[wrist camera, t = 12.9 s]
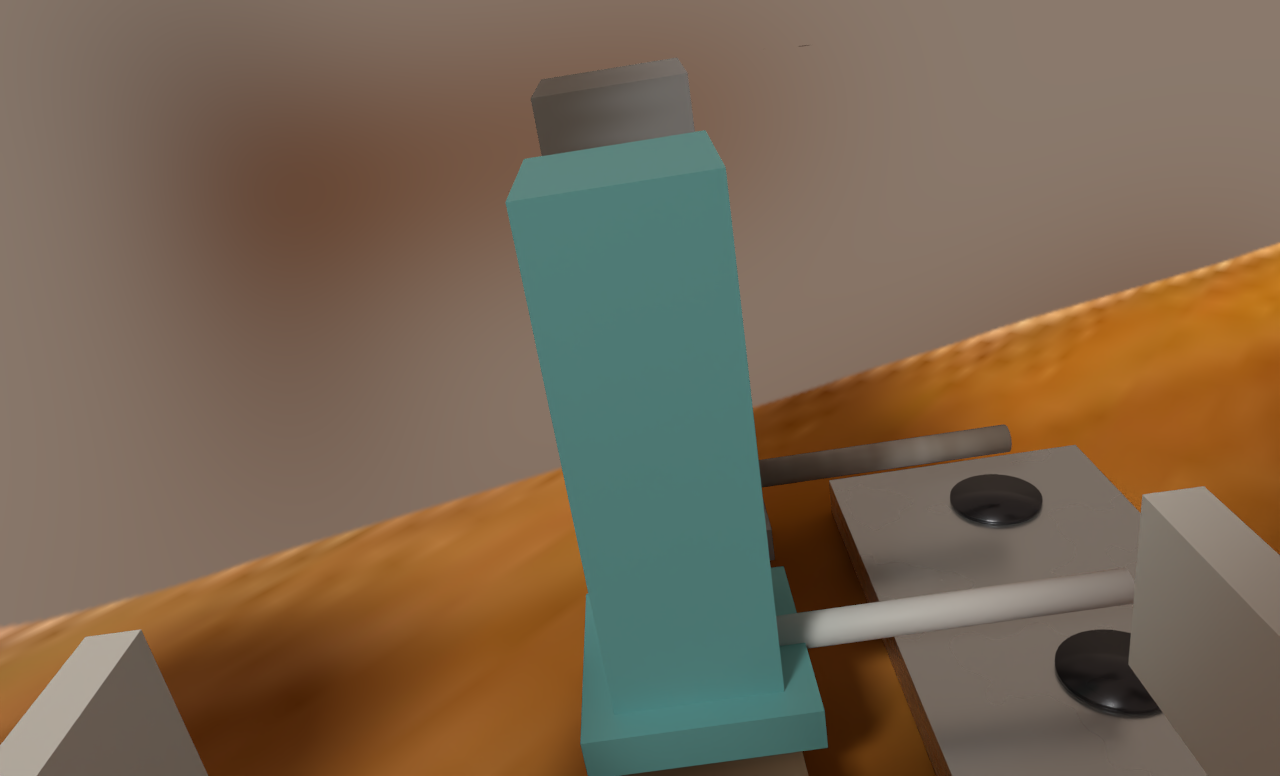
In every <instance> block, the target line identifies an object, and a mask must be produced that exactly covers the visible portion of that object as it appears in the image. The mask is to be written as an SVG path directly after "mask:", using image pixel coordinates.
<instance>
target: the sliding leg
mask: <svg viewBox="0 0 1280 776" xmlns="http://www.w3.org/2000/svg"><path fill="white" fill-rule="evenodd" d="M506 206H507V211H508V216H509V220H510V225H511V230H512V234H513V240H514V244H515V249H516V253H517V258H518V263H519V268H520V272H521V277H522V282H523V287H524V291H525V296H526V301H527V305H528V310H529V315H530V320H531V324H532V329H533V334H534V338H535V343H536V348H537V353H538V357H539V362H540V367H541V372H542V376H543V381H544V386H545V390H546V395H547V400H548V404H549V409H550V414H551V418H552V423H553V428H554V433H555V438H556V442H557V447H558V452H559V456H560V461H561V466H562V471H563V475H564V480H565V485H566V489H567V494H568V499H569V503H570V508H571V513H572V518H573V522H574V527H575V532H576V536H577V541H578V546H579V551H580V555H581V560H582V565H583V569H584V574H585V579H586V584H587V588H588V593H589V594H586V613H585V639H584V665H583V691H582V717H581V743H580V744H581V748H582V753H583V757H584V761H585V765H586V770H587V774H588V776H621V775H628V774H636V773H643V772H651V771H658V770H666V769H673V768H681V767H688V766H695V765H703V764H710V763H718V762H725V761H733V760H740V759H748V758H755V757H763V756H770V755H778V754H785V753H793V752H800V751H807V750H815V749H822V748H828V742H827V731H826V720H825V710H824V707H823V703H822V700H821V696H820V693H819V689H818V686H817V682H816V679H815V675H814V672H813V668H812V664H811V661H810V657H809V654H808V650H807V649H809V648H816V647H824V646H831V645H838V644H845V643H853V642H860V641H867V640H874V639H882V638H889V637H896V636H903V635H911V634H918V633H925V632H932V631H940V630H947V629H954V628H961V627H969V626H976V625H983V624H990V623H998V622H1005V621H1012V620H1019V619H1027V618H1034V617H1041V616H1048V615H1056V614H1063V613H1070V612H1077V611H1085V610H1092V609H1099V608H1106V607H1114V606H1121V605H1128V604H1133V602H1134V590H1135V582H1134V580H1133V577H1132V575H1131V574H1130V572H1129V571H1128V570H1127V569H1126V568H1117V569H1110V570H1103V571H1095V572H1088V573H1081V574H1074V575H1067V576H1060V577H1052V578H1045V579H1038V580H1031V581H1024V582H1017V583H1009V584H1002V585H995V586H988V587H981V588H973V589H966V590H959V591H952V592H945V593H938V594H930V595H923V596H916V597H909V598H902V599H895V600H887V601H880V602H873V603H866V604H859V605H851V606H844V607H837V608H830V609H823V610H816V611H808V612H801V613H797V612H796V608H795V605H794V601H793V597H792V594H791V590H790V587H789V583H788V580H787V576H786V573H785V569H784V566H781V567H774V568H771V567H770V558H769V549H768V540H767V532H766V523H765V514H764V505H763V496H762V487H761V478H760V469H759V460H758V451H757V443H756V434H755V425H754V416H753V407H752V399H751V389H750V380H749V371H748V363H747V354H746V345H745V336H744V327H743V318H742V309H741V300H740V291H739V283H738V274H737V266H736V256H735V247H734V238H733V229H732V220H731V211H730V202H729V194H728V186H727V176H726V168H725V166H724V164H723V162H722V160H721V158H720V157H719V155H718V153H717V151H716V149H715V147H714V145H713V144H712V142H711V140H710V138H709V136H708V134H707V133H706V131H705V130H704V131H698V132H691V133H685V134H679V135H672V136H666V137H660V138H654V139H647V140H641V141H635V142H628V143H622V144H616V145H609V146H603V147H597V148H590V149H584V150H578V151H572V152H565V153H559V154H553V155H546V156H540V157H534V158H528V159H524V160H523V163H522V165H521V168H520V170H519V172H518V175H517V177H516V179H515V182H514V184H513V186H512V188H511V191H510V193H509V196H508V198H507V200H506Z"/></svg>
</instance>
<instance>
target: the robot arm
mask: <svg viewBox="0 0 1280 776" xmlns="http://www.w3.org/2000/svg"><path fill="white" fill-rule="evenodd" d="M1128 665H1129V666H1130V667H1131V669H1132V670H1133V672H1134V673H1135V674H1136V676H1137V677H1138V679H1139V680H1140V681H1141V683H1142V684H1143V686H1144V687H1145V688H1146V690H1147V691H1148V693H1149V694H1150V695H1151V697H1152V698H1153V700H1154V701H1155V702H1156V704H1157V705H1158V707H1159V708H1160V709H1161V711H1162V712H1163V714H1164V715H1165V716H1166V718H1167V719H1168V721H1169V722H1170V723H1171V725H1172V726H1173V728H1174V729H1175V730H1176V732H1177V733H1178V735H1179V736H1180V737H1181V739H1182V740H1183V742H1184V743H1185V744H1186V746H1187V747H1188V749H1189V750H1190V751H1191V753H1192V754H1193V756H1194V757H1195V758H1196V760H1197V761H1198V763H1199V764H1200V765H1201V767H1202V768H1203V770H1204V771H1205V772H1206V774H1207V775H1208V776H1280V555H1279V554H1278V553H1277V552H1275V551H1274V550H1273V549H1272V548H1271V547H1270V546H1269V545H1268V544H1267V543H1266V542H1264V541H1263V540H1262V539H1261V538H1260V537H1259V536H1258V535H1257V534H1256V533H1255V532H1254V531H1252V530H1251V529H1250V528H1249V527H1248V526H1247V525H1246V524H1245V523H1244V522H1243V521H1241V520H1240V519H1239V518H1238V517H1237V516H1236V515H1235V514H1234V513H1233V512H1232V511H1230V510H1229V509H1228V508H1227V507H1226V506H1225V505H1224V504H1223V503H1222V502H1221V501H1219V500H1218V499H1217V498H1216V497H1215V496H1214V495H1213V494H1212V493H1211V492H1210V491H1209V490H1207V489H1206V488H1205V487H1204V486H1203V487H1196V488H1188V489H1181V490H1174V491H1166V492H1159V493H1151V494H1144V495H1142V507H1141V518H1140V530H1139V542H1138V554H1137V566H1136V578H1135V590H1134V602H1133V614H1132V626H1131V638H1130V650H1129V662H1128ZM0 776H208V774H207V772H206V770H205V768H204V765H203V763H202V761H201V759H200V757H199V755H198V752H197V750H196V748H195V746H194V744H193V742H192V739H191V737H190V735H189V733H188V731H187V728H186V726H185V724H184V722H183V720H182V718H181V715H180V713H179V711H178V709H177V707H176V705H175V702H174V700H173V698H172V696H171V694H170V692H169V689H168V687H167V685H166V683H165V681H164V678H163V676H162V674H161V672H160V670H159V668H158V665H157V663H156V661H155V659H154V657H153V655H152V652H151V650H150V648H149V646H148V644H147V641H146V639H145V637H144V635H143V633H142V631H141V630H134V631H127V632H119V633H112V634H104V635H97V636H89V637H85V638H84V640H83V641H82V642H81V643H80V645H79V646H78V647H77V648H76V650H75V651H74V652H73V654H72V655H71V656H70V657H69V659H68V660H67V661H66V662H65V664H64V665H63V666H62V668H61V669H60V670H59V671H58V673H57V674H56V675H55V676H54V678H53V679H52V680H51V681H50V683H49V684H48V685H47V687H46V688H45V689H44V690H43V692H42V693H41V694H40V695H39V697H38V698H37V699H36V701H35V702H34V703H33V704H32V706H31V707H30V708H29V709H28V711H27V712H26V713H25V715H24V716H23V717H22V718H21V720H20V721H19V722H18V723H17V725H16V726H15V727H14V729H13V730H12V731H11V732H10V734H9V735H8V736H7V737H6V739H5V740H4V741H3V742H2V744H1V745H0Z"/></svg>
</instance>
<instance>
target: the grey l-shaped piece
mask: <svg viewBox="0 0 1280 776" xmlns="http://www.w3.org/2000/svg"><path fill="white" fill-rule="evenodd" d="M531 102H532V107H533V112H534V118H535V123H536V128H537V133H538V138H539V143H540V149H541V154H542V156H546V155H553V154H559V153H565V152H572V151H578V150H584V149H590V148H597V147H603V146H609V145H616V144H622V143H628V142H635V141H641V140H647V139H654V138H660V137H666V136H672V135H679V134H685V133H691V132H695V130H694V122H693V114H692V106H691V98H690V90H689V83H688V74H687V72H686V70H685V69H684V67H683V66H682V64H681V63H680V61H679V60H678V58H672V59H667V60H660V61H653V62H647V63H641V64H635V65H629V66H623V67H616V68H611V69H604V70H598V71H592V72H586V73H580V74H573V75H567V76H562V77H554V78H548V79H542V80H541V81H540V83H539V85H538V86H537V88H536V90H535V92H534V94H533V95H532V97H531ZM1011 445H1012V443H1011V436H1010V432H1009V430H1008V428H1007V426H1006V425H998V426H991V427H984V428H977V429H970V430H963V431H956V432H949V433H943V434H936V435H929V436H922V437H915V438H908V439H901V440H894V441H888V442H881V443H874V444H867V445H860V446H853V447H846V448H840V449H833V450H826V451H819V452H812V453H805V454H798V455H791V456H785V457H778V458H771V459H764V460H759V469H760V478H761V487H768V486H775V485H782V484H789V483H796V482H803V481H810V480H817V479H824V478H831V477H838V476H844V475H851V474H858V473H865V472H872V471H879V470H886V469H893V468H900V467H907V466H914V465H921V464H928V463H934V462H941V461H948V460H955V459H962V458H969V457H976V456H983V455H990V454H997V453H1004V452H1009V451H1010V450H1011ZM763 505H764V514H765V523H766V532H767V540H768V549H769V558H770V560H775V556H774V547H773V538H772V529H771V526H770V522H769V518H768V515H767V511H766V508H765V504H764V501H763ZM621 776H808V772H807V768H806V764H805V759H804V755H803V751H800V752H793V753H785V754H778V755H770V756H763V757H755V758H748V759H740V760H733V761H725V762H718V763H710V764H703V765H695V766H688V767H681V768H673V769H666V770H658V771H651V772H643V773H636V774H628V775H621Z"/></svg>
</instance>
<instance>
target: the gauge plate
mask: <svg viewBox="0 0 1280 776" xmlns="http://www.w3.org/2000/svg"><path fill="white" fill-rule="evenodd" d="M829 486H830V499H831V512H832V514H833V517H834V519H835V522H836V524H837V527H838V529H839V532H840V534H841V537H842V539H843V542H844V544H845V547H846V549H847V552H848V554H849V557H850V559H851V562H852V564H853V567H854V569H855V572H856V574H857V577H858V579H859V582H860V584H861V587H862V590H863V592H864V595H865V597H866V600H867V602H868V603H873V602H880V601H887V600H895V599H902V598H909V597H916V596H923V595H930V594H938V593H945V592H952V591H959V590H966V589H973V588H981V587H988V586H995V585H1002V584H1009V583H1017V582H1024V581H1031V580H1038V579H1045V578H1052V577H1060V576H1067V575H1074V574H1081V573H1088V572H1095V571H1103V570H1110V569H1117V568H1126V569H1127V570H1128V571H1129V572H1130V574H1131V575H1132V577H1133V580H1134V582H1135V578H1136V566H1137V554H1138V542H1139V530H1140V518H1141V513H1140V512H1139V511H1138V510H1137V509H1136V508H1135V507H1134V506H1133V505H1132V504H1131V503H1130V502H1129V501H1128V500H1127V499H1126V498H1125V497H1124V496H1123V494H1122V493H1121V492H1120V491H1119V490H1118V489H1117V488H1116V487H1115V486H1114V485H1113V484H1112V483H1111V482H1110V481H1109V480H1108V479H1107V478H1106V477H1105V476H1104V474H1103V473H1102V472H1101V471H1100V470H1099V469H1098V468H1097V467H1096V466H1095V465H1094V464H1093V463H1092V462H1091V461H1090V460H1089V459H1088V458H1087V457H1086V456H1085V455H1084V453H1083V452H1082V451H1081V450H1080V449H1079V448H1078V447H1077V446H1076V445H1072V446H1065V447H1058V448H1051V449H1044V450H1037V451H1030V452H1023V453H1016V454H1009V455H1002V456H995V457H988V458H982V459H975V460H968V461H961V462H954V463H947V464H940V465H933V466H926V467H919V468H912V469H905V470H898V471H891V472H885V473H878V474H871V475H864V476H857V477H850V478H843V479H836V480H829ZM1132 614H1133V604H1128V605H1121V606H1114V607H1106V608H1099V609H1092V610H1085V611H1077V612H1070V613H1063V614H1056V615H1048V616H1041V617H1034V618H1027V619H1019V620H1012V621H1005V622H998V623H990V624H983V625H976V626H969V627H961V628H954V629H947V630H940V631H932V632H925V633H918V634H911V635H903V636H896V637H889V638H882V640H883V642H884V645H885V647H886V650H887V652H888V655H889V657H890V660H891V662H892V665H893V667H894V670H895V672H896V675H897V677H898V680H899V683H900V685H901V688H902V690H903V693H904V695H905V698H906V700H907V703H908V705H909V708H910V710H911V713H912V715H913V718H914V720H915V723H916V725H917V728H918V730H919V733H920V735H921V738H922V740H923V743H924V745H925V748H926V750H927V753H928V755H929V758H930V760H931V763H932V765H933V768H934V770H935V773H936V776H1208V775H1207V774H1206V772H1205V771H1204V770H1203V768H1202V767H1201V765H1200V764H1199V763H1198V761H1197V760H1196V758H1195V757H1194V756H1193V754H1192V753H1191V751H1190V750H1189V749H1188V747H1187V746H1186V744H1185V743H1184V742H1183V740H1182V739H1181V737H1180V736H1179V735H1178V733H1177V732H1176V730H1175V729H1174V728H1173V726H1172V725H1171V723H1170V722H1169V721H1168V719H1167V718H1166V716H1165V715H1164V714H1163V712H1162V711H1161V709H1160V708H1159V707H1158V705H1157V704H1156V702H1155V701H1154V700H1153V698H1152V697H1151V695H1150V694H1149V693H1148V691H1147V690H1146V688H1145V687H1144V686H1143V684H1142V683H1141V681H1140V680H1139V679H1138V677H1137V676H1136V674H1135V673H1134V672H1133V670H1132V669H1131V667H1130V666H1129V665H1128V662H1129V650H1130V638H1131V626H1132Z"/></svg>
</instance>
